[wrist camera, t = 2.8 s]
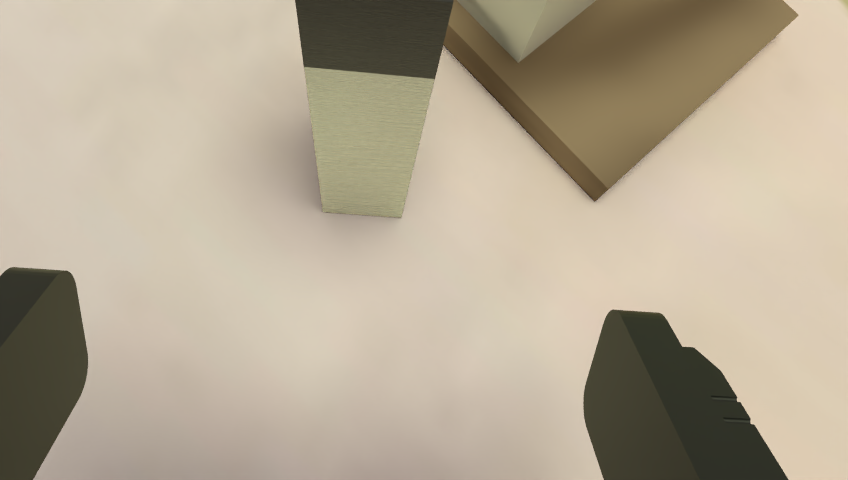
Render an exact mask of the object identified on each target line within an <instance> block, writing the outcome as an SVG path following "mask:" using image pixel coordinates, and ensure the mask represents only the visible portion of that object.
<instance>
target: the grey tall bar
mask: <svg viewBox="0 0 848 480" xmlns="http://www.w3.org/2000/svg"><path fill="white" fill-rule="evenodd" d="M453 1H454V0H295V2H296V9H297V17H298V25H299V33H300V40H301V48H302V56H303V63H304V71H305V79H306V86H307V94H308V102H309V110H310V117H311V125H312V133H313V140H314V148H315V156H316V163H317V171H318V179H319V187H320V194H321V202H322V210H323V212H331V213H344V214H357V215H370V216H383V217H397V218H401V217H402V213H403V208H404V204H405V200H406V196H407V192H408V188H409V184H410V180H411V175H412V171H413V167H414V163H415V159H416V155H417V151H418V147H419V142H420V138H421V134H422V130H423V126H424V122H425V118H426V114H427V109H428V105H429V101H430V97H431V93H432V89H433V85H434V81H435V76H436V72H437V68H438V64H439V60H440V56H441V52H442V48H443V43H444V39H445V35H446V31H447V27H448V23H449V19H450V14H451V10H452V6H453Z"/></svg>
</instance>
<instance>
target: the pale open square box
mask: <svg viewBox="0 0 848 480" xmlns="http://www.w3.org/2000/svg"><path fill="white" fill-rule="evenodd" d="M457 1H458V2H459V3H460V4H461V5H462V6H463V7H464V8H465V9H466V10H467V11H468V12H469V13H470V14H471V15H472V16H473V18H474V19H475V20H476V21H477V22H478V23H479V24H480V25H481V26H482V27H483V28H484V29H485V30H486V31H487V32H488V33H489V34H490V35H491V36H492V37H493V38H494V39H495V40H496V41H497V42H498V43H499V44H500V45H501V46H502V47H503V48H504V49H505V50H506V51H507V52H508V53H509V54H510V55H511V56H512V57H513V58H514V59H515V60H516V61H517V62H518V63H519V62H520V61H521V60H523V59H524V58H525V57H526V56H528V55H529V54H530V53H531V52H533V51H534V50H535V49H536V48H538V47H539V46H540V45H541V44H543V43H544V42H545V41H546V40H548V39H549V38H550V37H551V36H552V35H554V34H555V33H556V32H557V31H559V30H560V29H561V28H562V27H564V26H565V25H566V24H567V23H569V22H570V21H571V20H572V19H574V18H575V17H576V16H577V15H579V14H580V13H581V12H582V11H584V10H585V9H586V8H587V7H588V6H590V5H591V4H592V3H593V2H595V1H596V0H457Z"/></svg>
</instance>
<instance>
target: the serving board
mask: <svg viewBox="0 0 848 480" xmlns="http://www.w3.org/2000/svg"><path fill="white" fill-rule="evenodd" d="M797 16H798V14H797V13H796V12H795V11H794V10H793V9H792V8H790V7H789V6H788V5H787V4H786V3H785V2H784V1H783V0H596V1H595V2H593V3H592V4H591V5H590V6H588V7H587V8H586V9H585V10H584V11H582V12H581V13H580V14H579V15H577V16H576V17H575V18H574V19H572V20H571V21H570V22H569V23H567V24H566V25H565V26H564V27H562V28H561V29H560V30H559V31H557V32H556V33H555V34H554V35H552V36H551V37H550V38H549V39H548V40H546V41H545V42H544V43H543V44H541V45H540V46H539V47H538V48H536V49H535V50H534V51H533V52H531V53H530V54H529V55H528V56H526V57H525V58H524V59H523V60H521V61H520V62H519V63H518V62H517V61H516V60H515V59H514V58H513V57H512V56H511V55H510V54H509V53H508V52H507V51H506V50H505V49H504V48H503V47H502V46H501V45H500V44H499V43H498V42H497V41H496V40H495V39H494V38H493V37H492V36H491V35H490V34H489V33H488V32H487V31H486V30H485V29H484V28H483V27H482V26H481V25H480V24H479V23H478V22H477V21H476V20H475V19H474V18H473V16H472V15H471V14H470V13H469V12H468V11H467V10H466V9H465V8H464V7H463V6H462V5H461V4H460V3H459V2H458V1H457V0H454V1H453V6H452V10H451V14H450V19H449V23H448V27H447V31H446V35H445V39H444V43H443V45H444V46H445V47H446V48H447V49H448V50H449V51H450V52H451V53H452V54H453V55H454V56H455V57H456V58H457V59H458V60H459V61H460V62H461V63H462V64H463V65H464V66H465V67H466V68H467V69H468V70H469V72H470V73H471V74H472V75H473V76H474V77H475V78H476V79H477V80H478V81H479V82H480V83H481V84H482V85H483V86H484V87H485V88H486V89H487V90H488V91H489V92H490V93H491V94H492V95H493V96H494V97H495V98H496V99H497V101H498V102H499V103H500V104H501V105H502V106H503V107H504V108H505V109H506V110H507V111H508V112H509V113H510V114H511V115H512V116H513V117H514V118H515V119H516V120H517V121H518V122H519V123H520V124H521V125H522V126H523V127H524V128H525V130H526V131H527V132H528V133H529V134H530V135H531V136H532V137H533V138H534V139H535V140H536V141H537V142H538V143H539V144H540V145H541V146H542V147H543V148H544V149H545V150H546V151H547V152H548V153H549V154H550V155H551V156H552V157H553V158H554V160H555V161H556V162H557V163H558V164H559V165H560V166H561V167H562V168H563V169H564V170H565V171H566V172H567V173H568V174H569V175H570V176H571V177H572V178H573V179H574V180H575V181H576V182H577V183H578V184H579V185H580V186H581V187H582V189H583V190H584V191H585V192H586V193H587V194H588V195H589V196H590V197H591V198H592V199H593V200H594V201H596V200H597V199H598V198H599V197H600V196H601V195H602V194H604V193H605V192H606V191H607V190H608V189H609V188H610V187H611V186H612V185H613V184H615V183H616V182H617V181H618V180H619V179H620V178H621V177H622V176H623V175H624V174H625V173H627V172H628V171H629V170H630V169H631V168H632V167H633V166H634V165H635V164H636V163H638V162H639V161H640V160H641V159H642V158H643V157H644V156H645V155H646V154H647V153H648V152H650V151H651V150H652V149H653V148H654V147H655V146H656V145H657V144H658V143H659V142H661V141H662V140H663V139H664V138H665V137H666V136H667V135H668V134H669V133H670V132H671V131H673V130H674V129H675V128H676V127H677V126H678V125H679V124H680V123H681V122H682V121H684V120H685V119H686V118H687V117H688V116H689V115H690V114H691V113H692V112H693V111H694V110H696V109H697V108H698V107H699V106H700V105H701V104H702V103H703V102H704V101H705V100H707V99H708V98H709V97H710V96H711V95H712V94H713V93H714V92H715V91H716V90H717V89H719V88H720V87H721V86H722V85H723V84H724V83H725V82H726V81H727V80H728V79H730V78H731V77H732V76H733V75H734V74H735V73H736V72H737V71H738V70H739V69H740V68H742V67H743V66H744V65H745V64H746V63H747V62H748V61H749V60H750V59H751V58H753V57H754V56H755V55H756V54H757V53H758V52H759V51H760V50H761V49H762V48H763V47H765V46H766V45H767V44H768V43H769V42H770V41H771V40H772V39H773V38H774V37H776V36H777V35H778V34H779V33H780V32H781V31H782V30H783V29H784V28H785V27H786V26H788V25H789V24H790V23H791V22H792V21H793V20H794V19H795V18H796V17H797Z"/></svg>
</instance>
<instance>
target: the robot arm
mask: <svg viewBox="0 0 848 480" xmlns="http://www.w3.org/2000/svg"><path fill="white" fill-rule="evenodd" d="M87 369H88V354H87V347H86V341H85V335H84V330H83V324H82V318H81V312H80V306H79V300H78V294H77V288H76V283H75V280H74V278H73V276H72V274H71V273H70V272H68V271H62V270H47V269H33V268H18V267H12V268H9V269H7V270H6V271H5V272H4V273H3V274H2V275H1V276H0V480H33V478H34V477H35V475H36V473H37V471H38V470H39V468H40V466H41V464H42V463H43V461H44V459H45V457H46V456H47V454H48V452H49V450H50V449H51V447H52V445H53V443H54V442H55V440H56V438H57V436H58V435H59V433H60V431H61V429H62V428H63V426H64V424H65V422H66V421H67V419H68V417H69V415H70V414H71V412H72V410H73V408H74V407H75V405H76V403H77V401H78V399H79V398H80V396H81V393H82V391H83V388H84V385H85V381H86V376H87ZM583 403H584V418H585V423H586V427H587V430H588V433H589V436H590V439H591V442H592V445H593V448H594V451H595V454H596V457H597V460H598V463H599V466H600V469H601V472H602V475H603V478H604V480H788V478H787V477H786V475H785V473H784V472H783V470H782V469H781V467H780V465H779V464H778V462H777V461H776V459H775V457H774V456H773V454H772V452H771V451H770V449H769V448H768V446H767V444H766V443H765V441H764V440H763V438H762V436H761V435H760V433H759V432H758V430H757V428H756V427H755V425H753V424H751V423H750V417H749V415H748V414H747V412H746V411H745V409H744V407H743V406H742V404H741V403H740V402H737V396H736V395H735V393H734V391H733V390H732V388H731V387H730V385H729V383H728V382H727V380H726V379H725V377H724V375H723V374H722V372H721V371H720V370H719V369H718V368H717V367H716V366H715V365H713V364H712V363H711V362H710V361H709V360H708V359H706V358H705V357H704V356H703V355H702V354H701V353H699V352H698V351H697V350H696V349H695V348H693V347H682V346H681V344H680V342H679V340H678V339H677V337H676V335H675V333H674V332H673V330H672V328H671V327H670V325H669V323H668V321H667V320H666V318H665V317H664V316H663V315H662V314H661V313H653V312H638V311H623V310H611V311H610V312H609V313H608V314H607V316H606V318H605V321H604V324H603V327H602V330H601V334H600V337H599V341H598V344H597V348H596V351H595V354H594V358H593V361H592V365H591V368H590V371H589V375H588V378H587V382H586V385H585V390H584V402H583Z"/></svg>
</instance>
